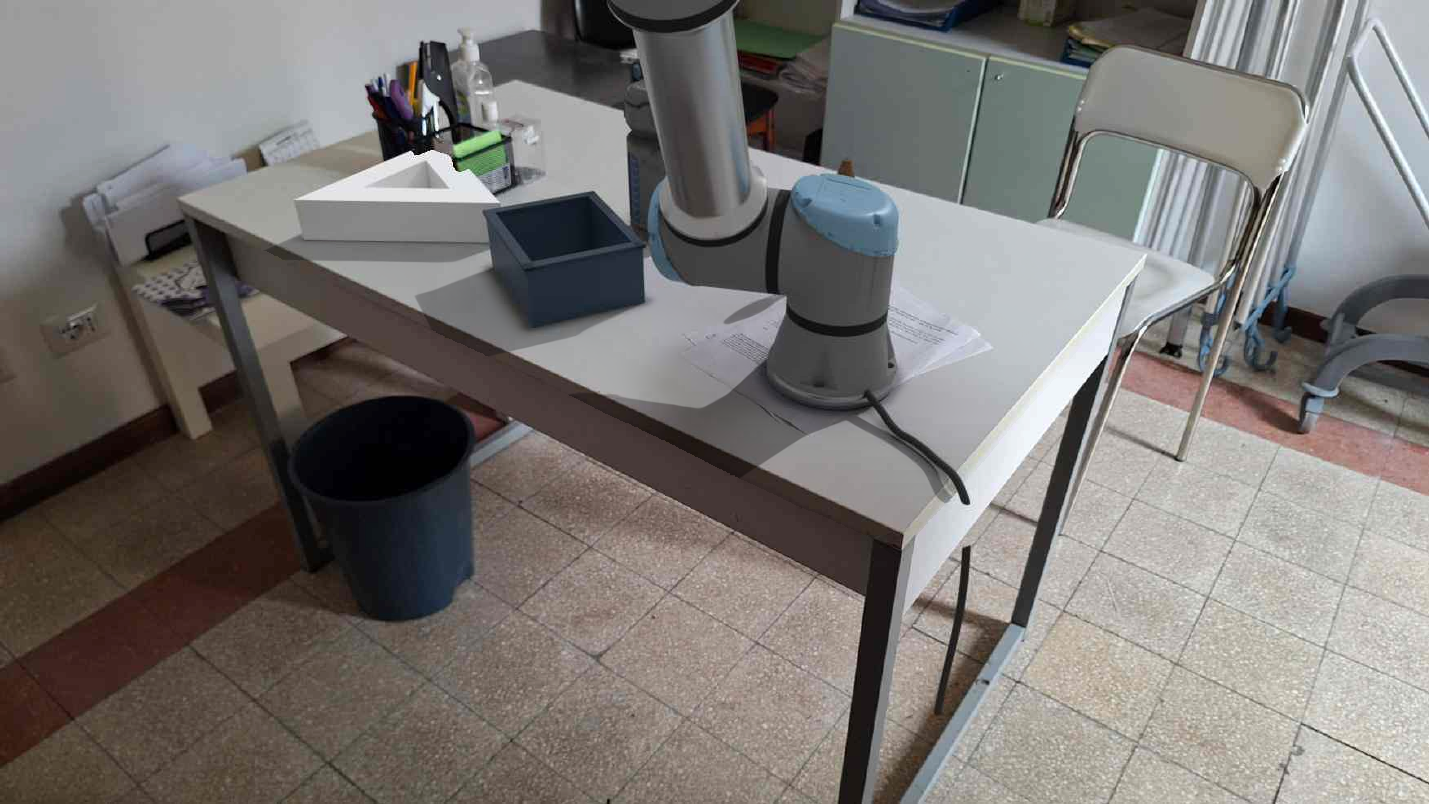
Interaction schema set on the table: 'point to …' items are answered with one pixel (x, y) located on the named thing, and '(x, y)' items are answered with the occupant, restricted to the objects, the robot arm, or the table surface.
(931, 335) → the table surface
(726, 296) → the table surface
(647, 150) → the grey piece
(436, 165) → the triangle block
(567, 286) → the dark blue open box
